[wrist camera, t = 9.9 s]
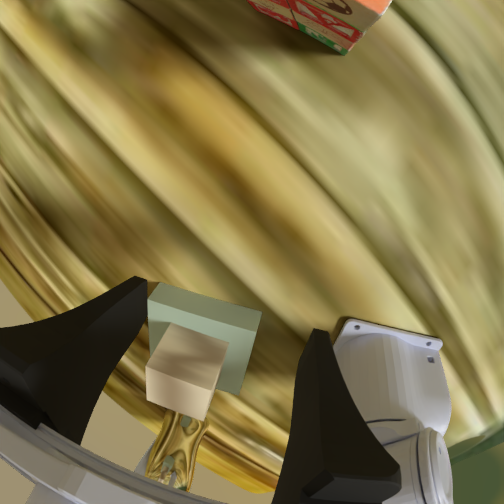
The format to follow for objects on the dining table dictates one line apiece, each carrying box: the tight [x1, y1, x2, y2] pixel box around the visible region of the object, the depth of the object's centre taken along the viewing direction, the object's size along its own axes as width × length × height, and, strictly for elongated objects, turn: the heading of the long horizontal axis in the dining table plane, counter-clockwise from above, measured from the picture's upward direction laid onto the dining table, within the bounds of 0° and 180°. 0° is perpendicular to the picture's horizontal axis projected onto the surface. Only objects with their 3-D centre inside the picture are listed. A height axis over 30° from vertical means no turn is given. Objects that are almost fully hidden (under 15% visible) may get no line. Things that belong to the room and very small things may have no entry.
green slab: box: [147, 282, 262, 395], centre depth 28 cm, size 9×9×3 cm
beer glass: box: [134, 408, 209, 493], centre depth 31 cm, size 7×7×15 cm
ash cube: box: [146, 322, 229, 421], centre depth 24 cm, size 5×5×5 cm
